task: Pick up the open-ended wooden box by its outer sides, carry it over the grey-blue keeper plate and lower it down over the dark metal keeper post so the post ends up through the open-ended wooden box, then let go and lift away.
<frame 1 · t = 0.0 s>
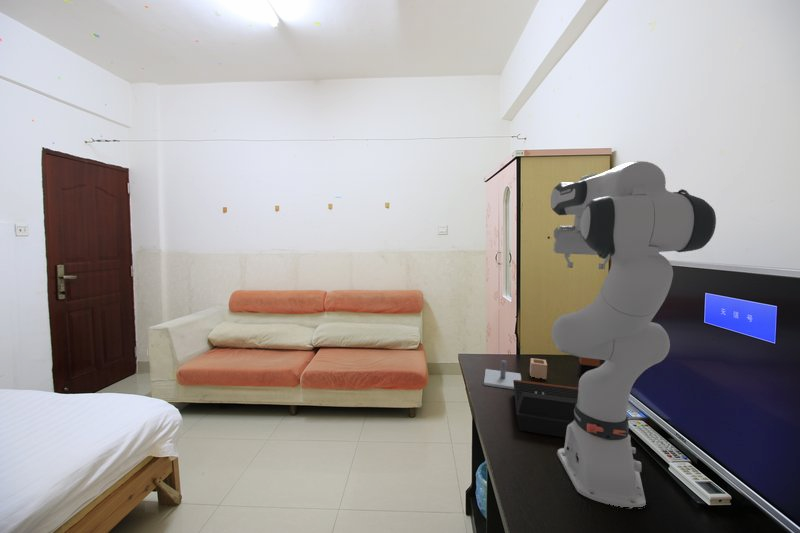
hand: (585, 268, 115), 48 cm above the tv stand, tool pointing down, fingers open, 8 cm apart
video game console: (559, 419, 113), on the tv stand
battery: (587, 377, 146), on the tv stand
open-ended wooden box: (537, 375, 146), on the tv stand
keeper dock: (502, 380, 140), on the tv stand
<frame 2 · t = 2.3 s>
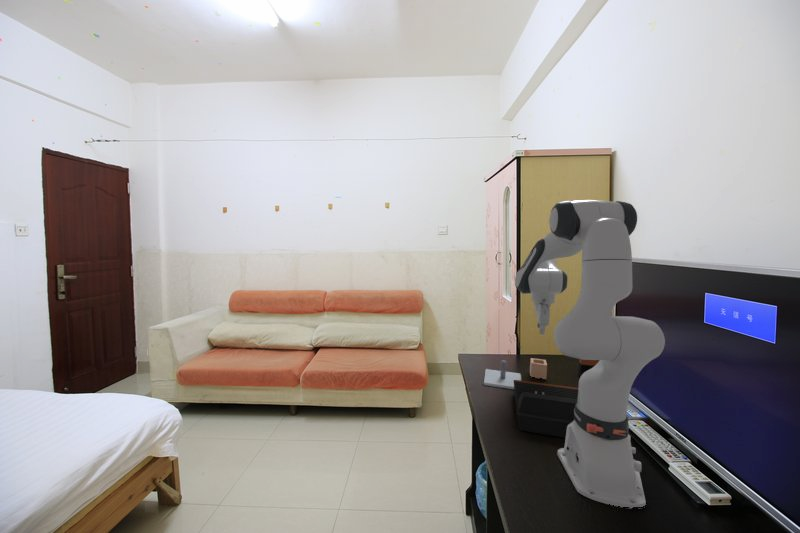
hand: (540, 330, 144), 19 cm above the tv stand, tool pointing down, fingers open, 8 cm apart
nothing on the tv stand moved.
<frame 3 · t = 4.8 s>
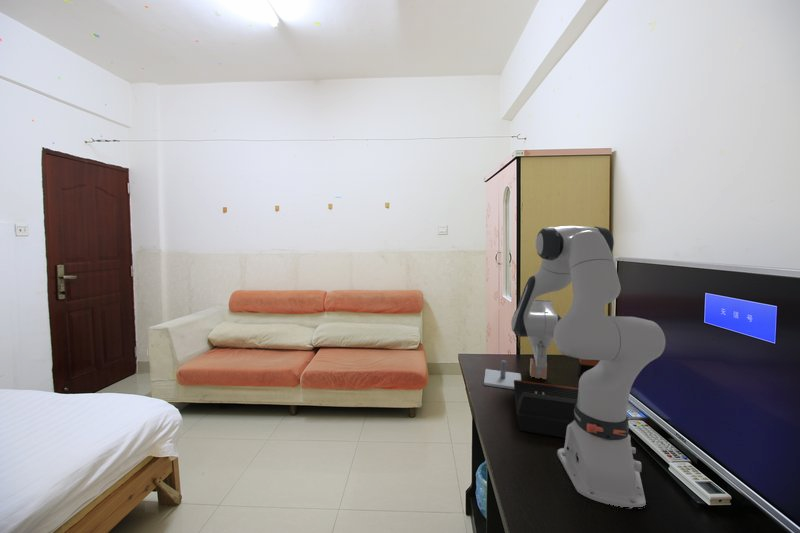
hand: (538, 370, 145), 2 cm above the tv stand, tool pointing down, fingers closed on open-ended wooden box, 6 cm apart
open-ended wooden box: (537, 375, 146), on the tv stand, touching gripper
everything else where it was.
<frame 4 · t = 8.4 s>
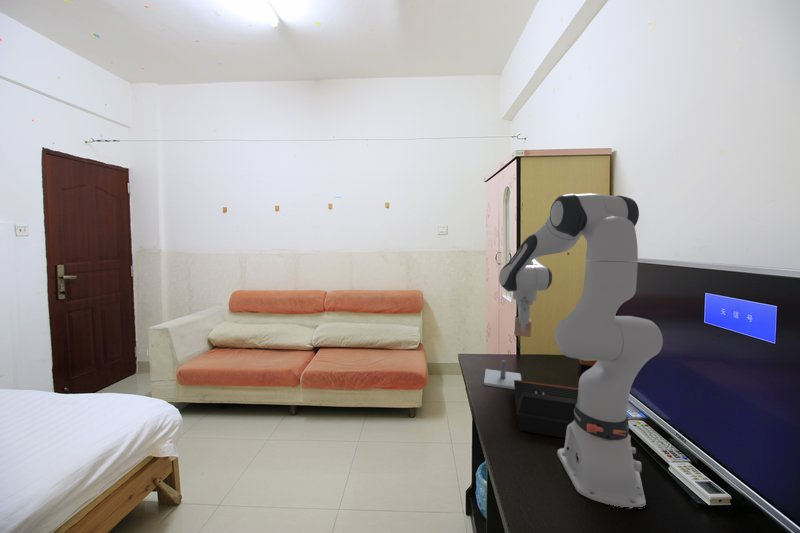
hand: (522, 329, 140), 21 cm above the tv stand, tool pointing down, fingers closed on open-ended wooden box, 6 cm apart
open-ended wooden box: (522, 334, 140), point 19 cm above the tv stand, touching gripper
everything else where it was.
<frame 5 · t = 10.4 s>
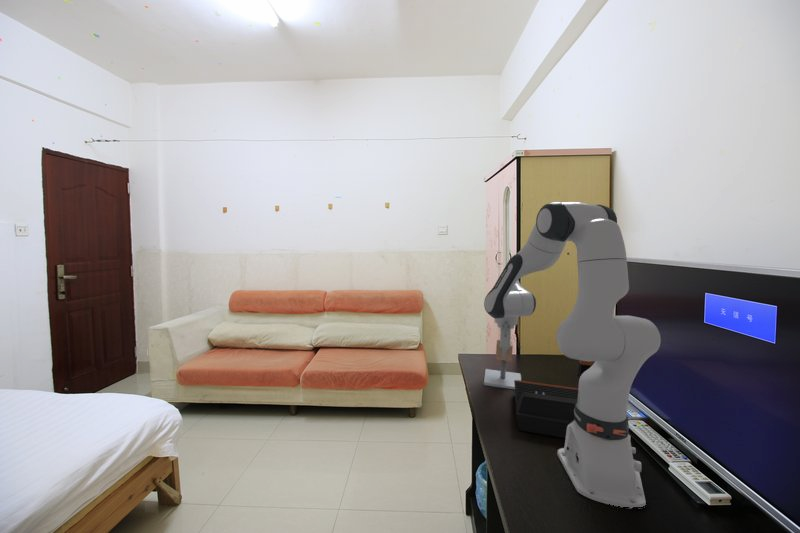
hand: (504, 352, 139), 11 cm above the tv stand, tool pointing down, fingers closed on open-ended wooden box, 6 cm apart
open-ended wooden box: (503, 357, 139), point 9 cm above the tv stand, touching gripper
everything else where it was.
when the fingers open (5 cm above the tv stand, at t = 12.3 s): open-ended wooden box drops 1 cm, resting on keeper dock.
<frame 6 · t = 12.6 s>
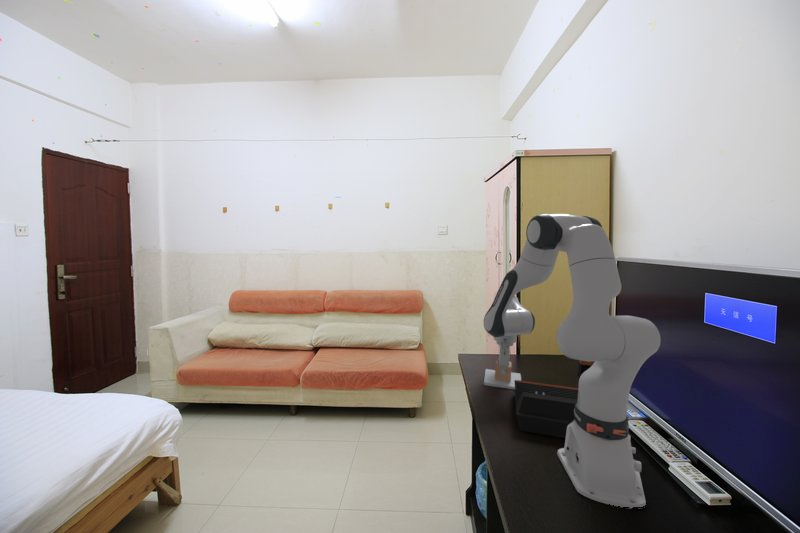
hand: (503, 369, 140), 5 cm above the tv stand, tool pointing down, fingers open, 8 cm apart
open-ended wooden box: (502, 377, 140), point 1 cm above the tv stand, touching keeper dock
everything else where it was.
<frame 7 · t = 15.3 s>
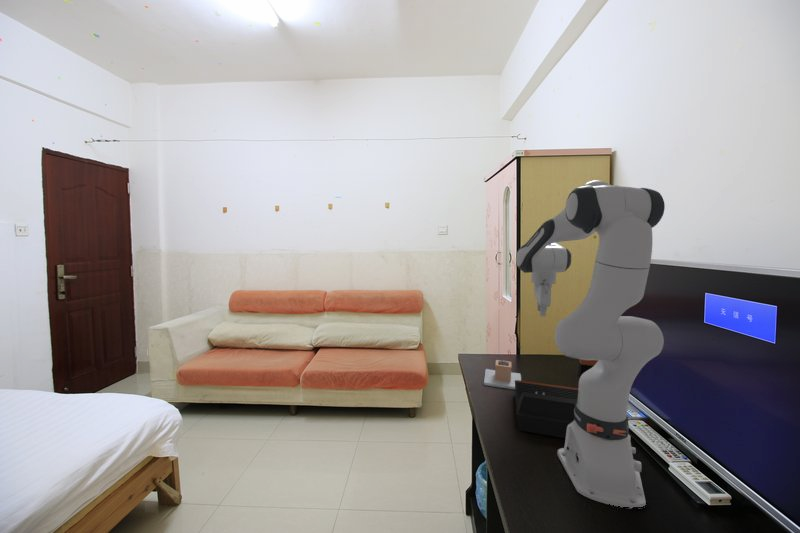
hand: (541, 313, 136), 28 cm above the tv stand, tool pointing down, fingers open, 8 cm apart
nothing on the tv stand moved.
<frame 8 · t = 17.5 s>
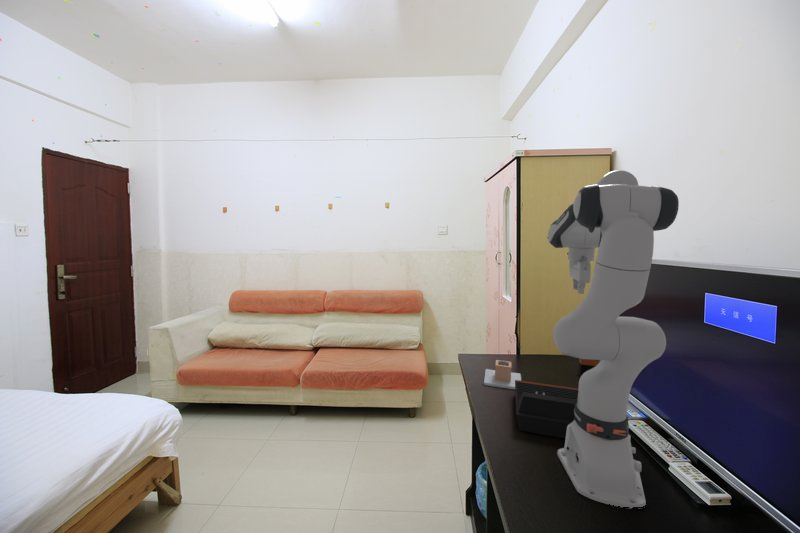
hand: (578, 291, 134), 37 cm above the tv stand, tool pointing down, fingers open, 8 cm apart
nothing on the tv stand moved.
at the end: open-ended wooden box 0.0 cm off-centre on the keeper dock, point 1.0 cm above the keeper dock's base; open-ended wooden box tilted 0°; the gripper is holding nothing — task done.
